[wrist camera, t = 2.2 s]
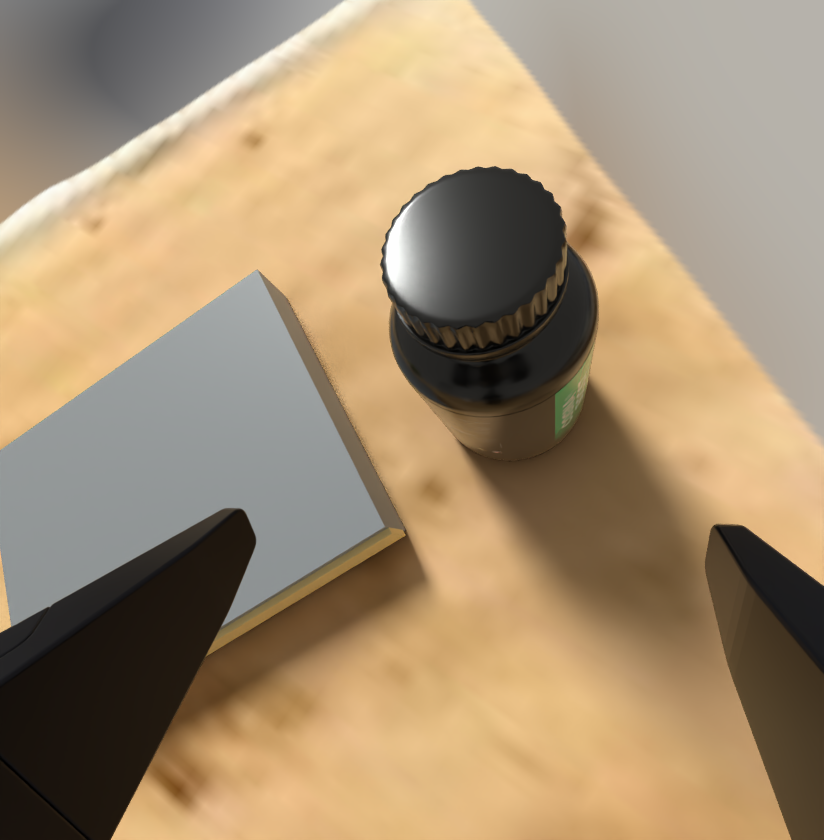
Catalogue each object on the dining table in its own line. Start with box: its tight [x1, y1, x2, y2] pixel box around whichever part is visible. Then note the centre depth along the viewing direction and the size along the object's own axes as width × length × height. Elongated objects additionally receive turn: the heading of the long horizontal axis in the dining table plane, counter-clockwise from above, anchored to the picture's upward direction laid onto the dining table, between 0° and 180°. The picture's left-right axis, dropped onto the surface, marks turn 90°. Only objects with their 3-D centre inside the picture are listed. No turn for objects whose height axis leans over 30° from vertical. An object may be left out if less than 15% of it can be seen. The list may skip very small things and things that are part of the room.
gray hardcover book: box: [0, 270, 406, 656], centre depth 25 cm, size 16×20×3 cm
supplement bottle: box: [380, 166, 599, 461], centre depth 17 cm, size 7×7×12 cm
